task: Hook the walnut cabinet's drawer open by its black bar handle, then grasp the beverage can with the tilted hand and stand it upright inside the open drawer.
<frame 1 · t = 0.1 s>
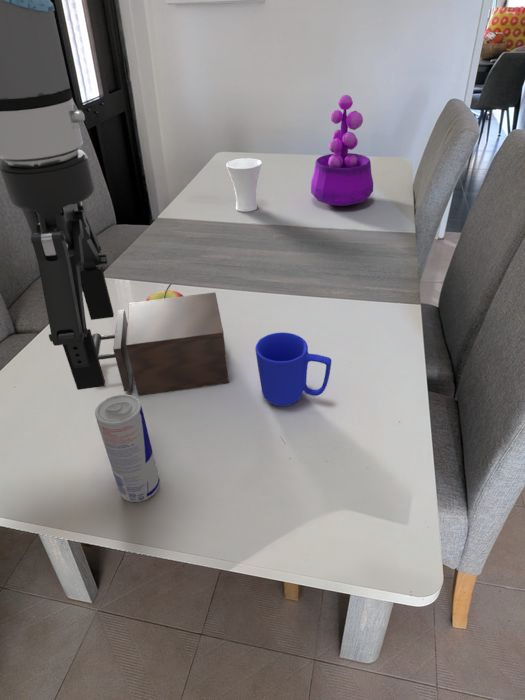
hand: (97, 348, 58), 24 cm above the table, tool pointing down, fingers open, 13 cm apart
cup: (246, 208, 158), on the table
mug: (293, 398, 86), on the table
beverage can: (140, 488, 72), on the table
drawer: (148, 346, 91), point 5 cm above the table, slide at 1.0 cm
cabinet: (182, 365, 94), on the table
apple: (169, 329, 105), on the table
decorative plant: (341, 202, 159), on the table
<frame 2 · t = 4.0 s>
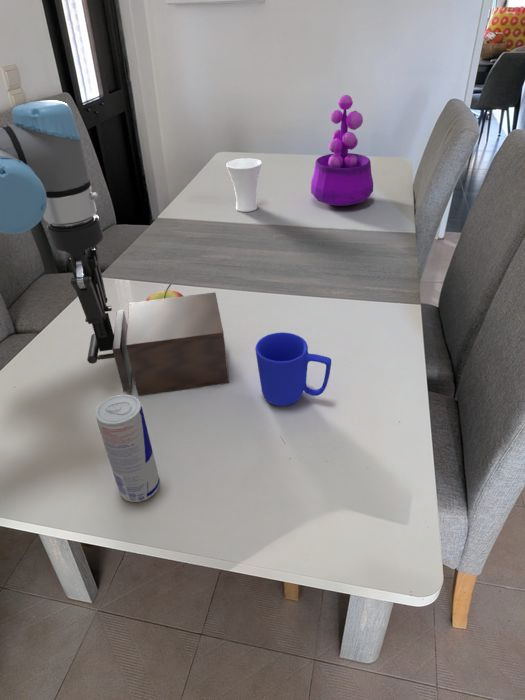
hand: (108, 347, 90), 6 cm above the table, tool pointing down, fingers closed
drawer: (147, 346, 91), point 5 cm above the table, slide at 1.1 cm, touching gripper
everything else where it was.
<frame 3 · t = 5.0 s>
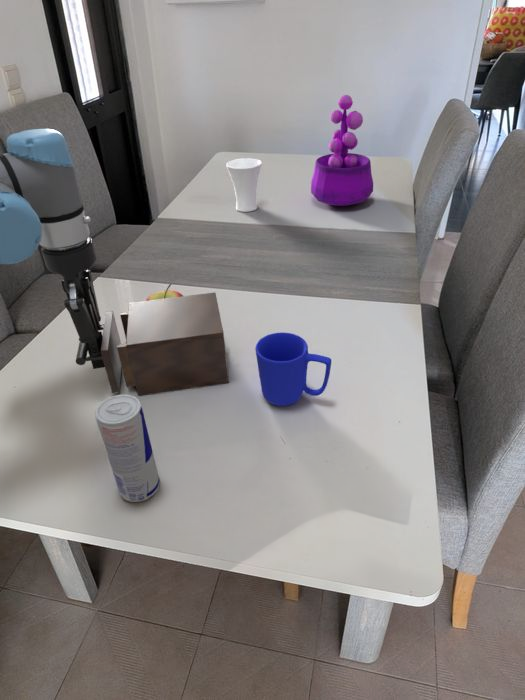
hand: (101, 365, 91), 3 cm above the table, tool pointing down, fingers closed
drawer: (136, 347, 90), point 5 cm above the table, slide at 3.0 cm, touching gripper
everything else where it was.
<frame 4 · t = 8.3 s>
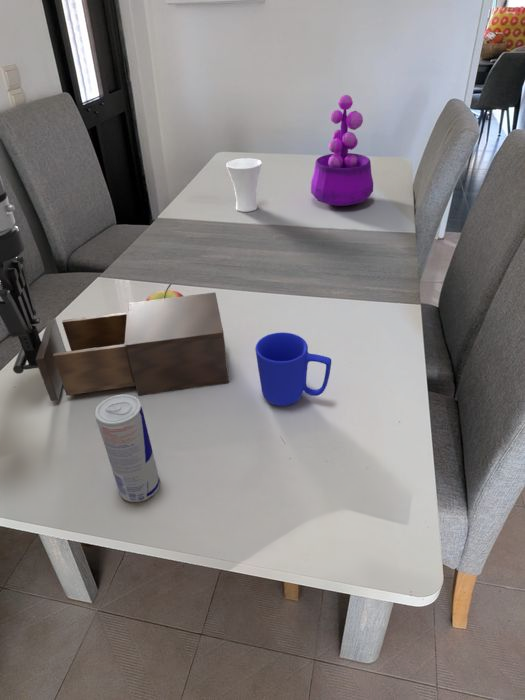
hand: (37, 360, 88), 5 cm above the table, tool pointing down, fingers closed
drawer: (77, 355, 89), point 5 cm above the table, slide at 13.1 cm
everything else where it was.
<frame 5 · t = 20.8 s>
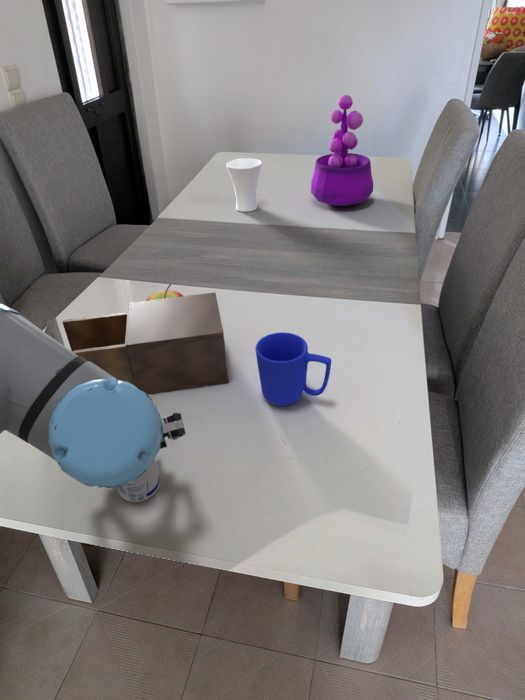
hand: (129, 443, 72), 5 cm above the table, tool tilted 45°, fingers closed on beverage can, 6 cm apart
beverage can: (140, 488, 72), on the table, touching gripper
everything else where it was.
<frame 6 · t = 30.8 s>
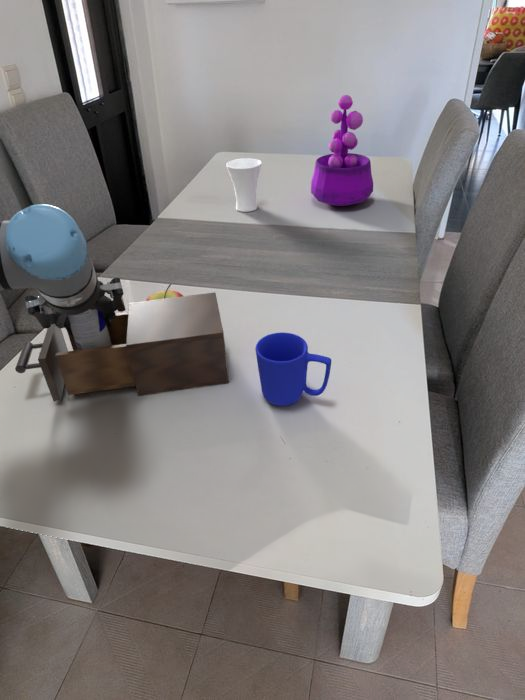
hand: (89, 323, 90), 9 cm above the table, tool tilted 45°, fingers closed on beverage can, 6 cm apart
beverage can: (98, 360, 91), point 4 cm above the table, touching gripper
drawer: (80, 355, 89), point 5 cm above the table, slide at 12.7 cm, touching gripper
everything else where it was.
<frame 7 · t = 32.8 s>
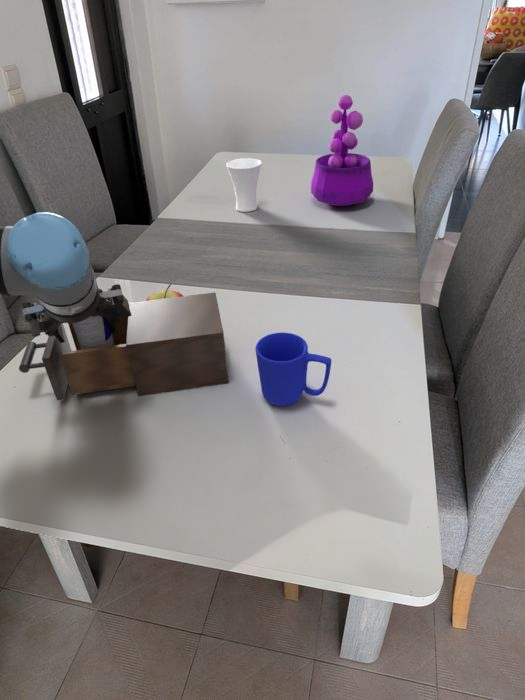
hand: (86, 329, 89), 9 cm above the table, tool tilted 45°, fingers open, 8 cm apart
beverage can: (104, 367, 92), point 2 cm above the table, touching drawer
drawer: (83, 354, 89), point 5 cm above the table, slide at 12.1 cm, touching beverage can
everything else where it was.
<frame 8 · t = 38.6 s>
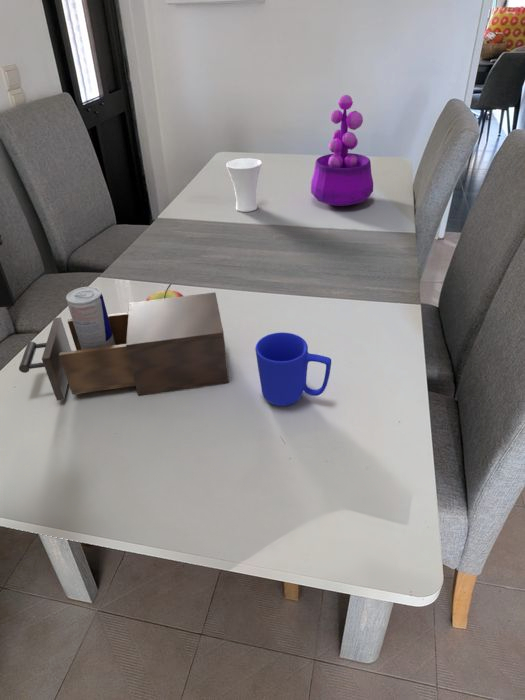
nothing on the table moved.
at the end: drawer slide at 12.1 cm; beverage can inside the target area in the drawer (1.0 cm from its centre), point 1.8 cm above the cabinet's base; beverage can tilted 0° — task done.
